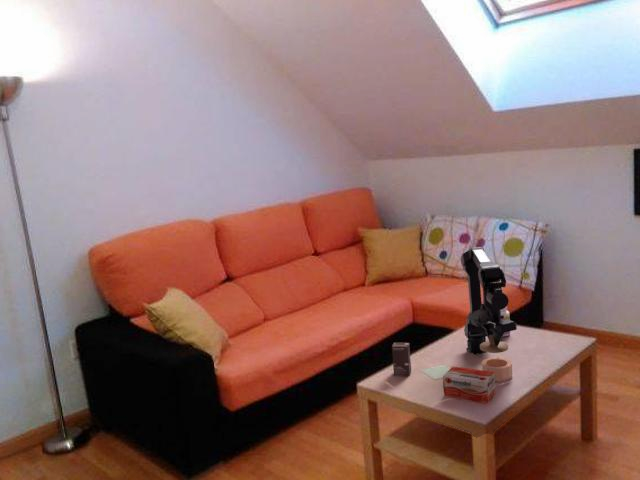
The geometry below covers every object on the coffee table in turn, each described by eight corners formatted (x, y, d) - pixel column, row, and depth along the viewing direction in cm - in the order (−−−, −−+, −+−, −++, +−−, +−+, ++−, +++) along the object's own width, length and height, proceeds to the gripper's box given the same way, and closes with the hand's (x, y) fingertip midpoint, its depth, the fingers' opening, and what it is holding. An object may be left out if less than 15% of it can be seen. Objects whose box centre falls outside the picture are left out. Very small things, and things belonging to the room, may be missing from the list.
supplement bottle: (494, 337, 247) (493, 308, 244) (493, 332, 253) (491, 303, 251) (511, 336, 245) (510, 307, 243) (509, 331, 252) (507, 302, 250)
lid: (496, 341, 213) (496, 328, 213) (514, 349, 204) (513, 335, 204) (474, 346, 210) (473, 333, 210) (490, 354, 201) (490, 341, 201)
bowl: (499, 368, 215) (499, 355, 215) (518, 377, 206) (517, 364, 205) (476, 374, 212) (476, 361, 211) (494, 384, 203) (493, 370, 202)
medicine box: (443, 397, 198) (442, 374, 196) (452, 387, 204) (451, 365, 203) (488, 404, 189) (487, 381, 188) (496, 394, 196) (495, 371, 194)
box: (393, 377, 217) (391, 346, 215) (396, 372, 222) (393, 341, 219) (410, 377, 215) (407, 346, 213) (412, 372, 220) (409, 342, 218)
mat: (443, 365, 223) (443, 364, 223) (458, 374, 214) (458, 373, 214) (420, 371, 220) (420, 370, 220) (435, 380, 211) (435, 379, 211)
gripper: (456, 299, 211) (459, 341, 213) (488, 312, 193) (491, 357, 196) (483, 294, 214) (485, 334, 217) (516, 305, 197) (518, 350, 200)
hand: (494, 344), depth 207 cm, fingers closed on lid, 3 cm apart
